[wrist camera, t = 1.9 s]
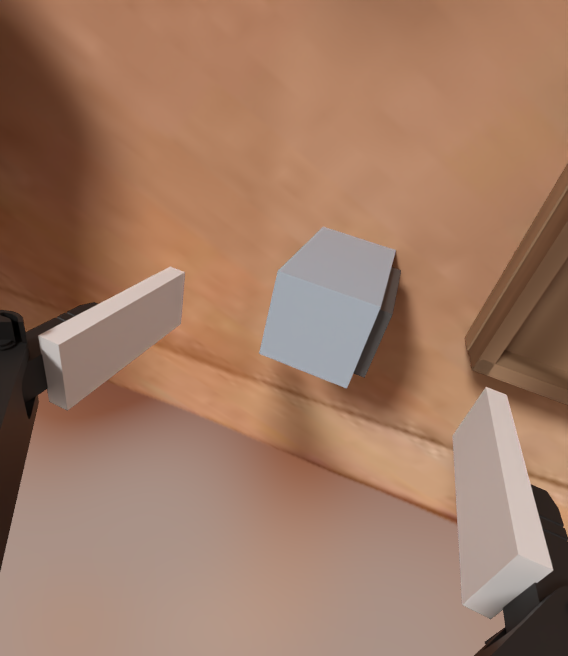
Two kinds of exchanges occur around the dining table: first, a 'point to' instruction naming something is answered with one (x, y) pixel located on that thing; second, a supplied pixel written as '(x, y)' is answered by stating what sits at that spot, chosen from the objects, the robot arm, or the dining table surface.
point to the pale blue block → (331, 306)
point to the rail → (530, 309)
